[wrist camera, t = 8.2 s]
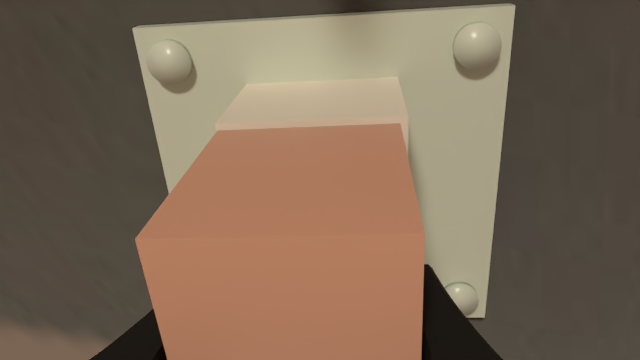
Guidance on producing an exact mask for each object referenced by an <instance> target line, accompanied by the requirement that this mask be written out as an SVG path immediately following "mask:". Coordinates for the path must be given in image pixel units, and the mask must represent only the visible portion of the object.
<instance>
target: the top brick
mask: <svg viewBox="0 0 640 360" xmlns="http://www.w3.org/2000/svg"><path fill="white" fill-rule="evenodd" d="M135 241H136V245H137V248H138V252H139V256H140V260H141V263H142V267H143V271H144V275H145V278H146V282H147V286H148V290H149V293H150V297H151V301H152V305H153V308H154V312H155V316H156V319H157V323H158V327H159V331H160V334H161V338H162V342H163V346H164V349H165V353H166V357H167V360H421V354H422V320H423V285H424V250H425V232H424V227H423V223H422V218H421V214H420V209H419V205H418V200H417V196H416V191H415V187H414V183H413V178H412V174H411V169H410V165H409V160H408V156H407V151H406V147H405V142H404V138H403V133H402V129H401V124H400V123H395V124H370V125H344V126H318V127H293V128H267V129H241V130H217V132H216V133H215V134H214V136H213V137H212V138H211V140H210V141H209V142H208V143H207V145H206V146H205V147H204V149H203V150H202V151H201V153H200V154H199V155H198V157H197V158H196V159H195V161H194V162H193V163H192V165H191V166H190V167H189V169H188V170H187V171H186V173H185V174H184V175H183V177H182V178H181V179H180V180H179V182H178V183H177V184H176V186H175V187H174V188H173V190H172V191H171V192H170V194H169V195H168V196H167V198H166V199H165V200H164V202H163V203H162V204H161V206H160V207H159V208H158V210H157V211H156V212H155V213H154V215H153V216H152V217H151V219H150V220H149V221H148V223H147V224H146V225H145V227H144V228H143V229H142V231H141V232H140V233H139V235H138V236H137V237H136V239H135Z"/></svg>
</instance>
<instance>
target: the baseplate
mask: <svg viewBox="0 0 640 360" xmlns="http://www.w3.org/2000/svg"><path fill="white" fill-rule="evenodd" d="M514 14H515V5H513V4H510V3H507V4H490V5H473V6H457V7H440V8H424V9H407V10H391V11H374V12H357V13H341V14H324V15H308V16H291V17H274V18H258V19H241V20H225V21H208V22H191V23H175V24H158V25H142V26H137V27H135V28H132V30H133V34H134V39H135V43H136V48H137V52H138V57H139V61H140V66H141V70H142V75H143V79H144V84H145V88H146V93H147V97H148V102H149V106H150V111H151V115H152V120H153V124H154V129H155V133H156V138H157V142H158V147H159V151H160V156H161V160H162V165H163V169H164V174H165V178H166V183H167V187H168V192H169V194H170V192H171V191H172V190H173V188H174V187H175V186H176V184H177V183H178V182H179V180H180V179H181V178H182V177H183V175H184V174H185V173H186V171H187V170H188V169H189V167H190V166H191V165H192V163H193V162H194V161H195V159H196V158H197V157H198V155H199V154H200V153H201V151H202V150H203V149H204V147H205V146H206V145H207V143H208V142H209V141H210V140H211V138H212V137H213V136H214V134H215V133H216V127H215V123H216V122H217V121H218V119H219V118H220V117H221V116H222V114H223V113H224V112H225V111H226V109H227V108H228V107H229V106H230V104H231V103H232V102H233V101H234V99H235V98H236V97H237V96H238V94H239V93H240V92H241V90H242V89H243V88H244V87H245V85H246V84H262V83H283V82H304V81H325V80H346V79H367V78H388V77H398V80H399V84H400V87H401V91H402V94H403V98H404V102H405V105H406V109H407V112H408V116H409V123H408V160H409V165H410V169H411V174H412V178H413V183H414V187H415V191H416V196H417V200H418V205H419V209H420V214H421V218H422V223H423V227H424V232H425V250H424V264H428V265H430V266H431V267H432V268H433V270H434V272H435V274H436V275H437V277H438V279H439V280H440V282H441V284H442V285H443V287H444V288H445V290H446V291H447V293H448V294H449V295H450V297H451V298H452V300H453V301H454V302H455V304H456V305H457V307H458V308H459V309H460V310H461V312H462V313H463V314H464V316H465V317H466V318H485V309H486V299H487V289H488V278H489V268H490V258H491V248H492V238H493V227H494V217H495V207H496V197H497V187H498V177H499V166H500V156H501V146H502V136H503V126H504V116H505V105H506V95H507V85H508V75H509V65H510V54H511V44H512V34H513V24H514Z"/></svg>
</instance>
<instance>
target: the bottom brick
mask: <svg viewBox="0 0 640 360" xmlns="http://www.w3.org/2000/svg"><path fill="white" fill-rule="evenodd" d="M395 123H400V124H401V129H402V133H403V138H404V142H405V147H406V151H407V156H408V123H409V116H408V112H407V109H406V105H405V102H404V98H403V94H402V91H401V87H400V84H399V80H398V77H388V78H367V79H346V80H325V81H304V82H283V83H262V84H246V85H245V87H244V88H243V89H242V90H241V92H240V93H239V94H238V96H237V97H236V98H235V99H234V101H233V102H232V103H231V104H230V106H229V107H228V108H227V109H226V111H225V112H224V113H223V114H222V116H221V117H220V118H219V119H218V121H217V122H216V123H215V127H216V132H217V130H241V129H267V128H293V127H318V126H344V125H370V124H395Z"/></svg>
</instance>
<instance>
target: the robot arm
mask: <svg viewBox="0 0 640 360" xmlns="http://www.w3.org/2000/svg"><path fill="white" fill-rule="evenodd" d="M90 360H167V357H166V353H165V349H164V346H163V342H162V338H161V334H160V331H159V327H158V323H157V319H156V316H155V312H154V309H152V310H151V311H150V312H149V313H148V314H147V315H146V316H145V317H143V318H142V319H141V320H140V321H138V322H137V323H136V324H135V325H134V326H132V327H131V328H130V329H129V330H128V331H126V332H125V333H124V334H123V335H121V336H120V337H119V338H118V339H117V340H115V341H114V342H113V343H111V344H110V345H109V346H108V347H106V348H105V349H104V350H102V351H101V352H99V353H98V354H97V355H95V356H94V357H92V358H91V359H90ZM421 360H503V359H502V358H501V357H500V356H499V355H498V354H497V353H496V352H495V351H494V350H493V349H492V348H491V346H490V345H489V344H488V343H487V342H486V341H485V340H484V339H483V337H482V336H481V335H480V334H479V333H478V332H477V330H476V329H475V328H474V327H473V326H472V324H471V323H470V322H469V321H468V319H467V318H466V317H465V316H464V314H463V313H462V312H461V310H460V309H459V308H458V307H457V305H456V304H455V302H454V301H453V300H452V298H451V297H450V295H449V294H448V293H447V291H446V290H445V288H444V287H443V285H442V284H441V282H440V280H439V279H438V277H437V275H436V274H435V272H434V270H433V268H432V267H431V266H430V265H428V264H424V285H423V320H422V354H421Z"/></svg>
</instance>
